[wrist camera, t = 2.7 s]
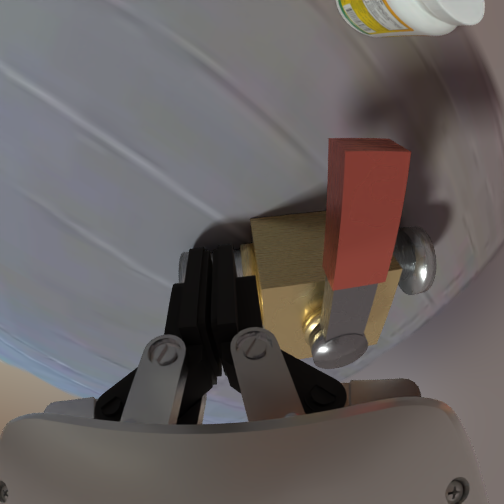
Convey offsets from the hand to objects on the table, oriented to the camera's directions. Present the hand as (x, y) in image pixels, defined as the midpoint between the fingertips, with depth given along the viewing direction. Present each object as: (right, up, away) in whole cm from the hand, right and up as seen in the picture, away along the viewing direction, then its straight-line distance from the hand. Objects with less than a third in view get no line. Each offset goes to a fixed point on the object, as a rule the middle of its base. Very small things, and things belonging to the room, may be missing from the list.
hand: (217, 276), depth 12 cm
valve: (+6, +1, +14) cm, 15 cm away
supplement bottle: (+10, +18, +2) cm, 21 cm away
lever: (+6, 0, +3) cm, 7 cm away
